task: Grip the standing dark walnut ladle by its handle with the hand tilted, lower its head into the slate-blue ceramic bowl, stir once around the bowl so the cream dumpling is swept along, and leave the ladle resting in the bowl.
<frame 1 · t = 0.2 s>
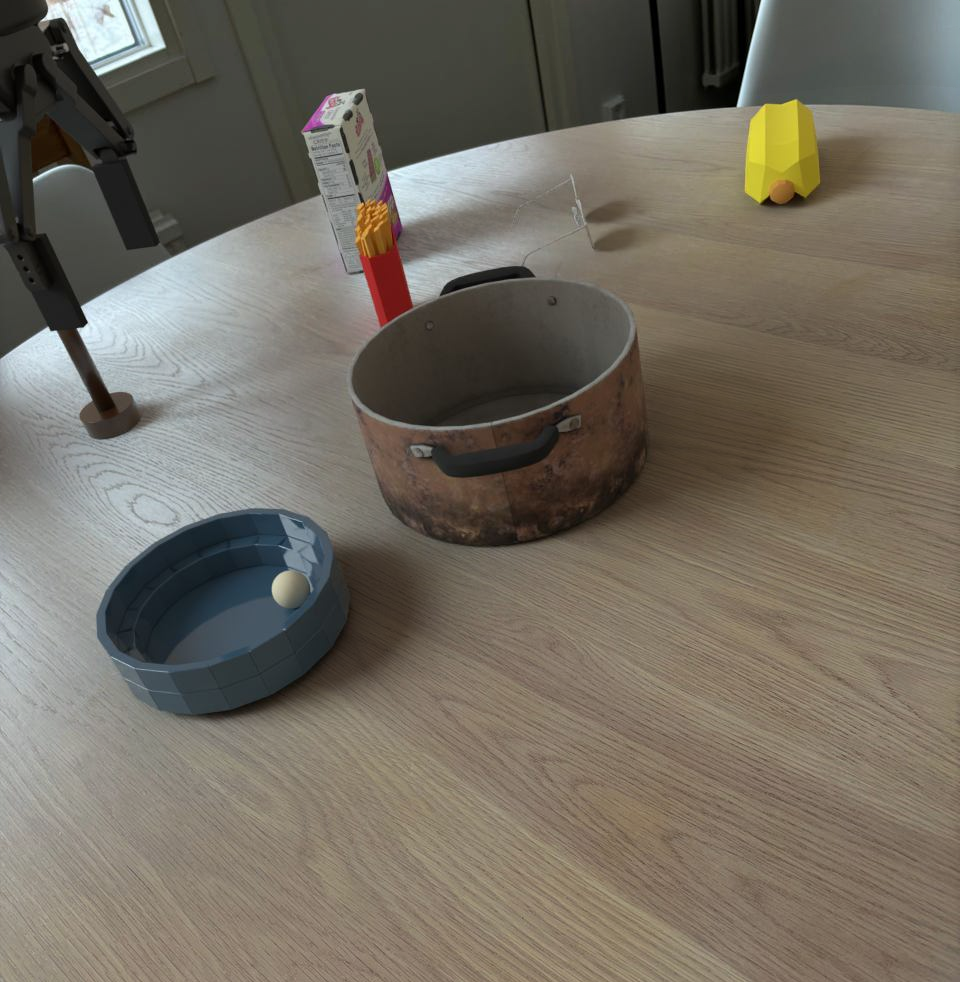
hand: (108, 284, 80), 20 cm above the table, tool pointing down, fingers open, 13 cm apart
cooking pot: (514, 465, 87), on the table
candy bar box: (375, 254, 125), on the table
dumpling: (291, 589, 77), point 2 cm above the table, touching bowl
bowl: (239, 633, 78), on the table
yellow faceted bell: (781, 181, 117), on the table
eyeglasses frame: (552, 242, 117), on the table
ladle: (114, 423, 107), on the table
french fries: (399, 324, 110), on the table
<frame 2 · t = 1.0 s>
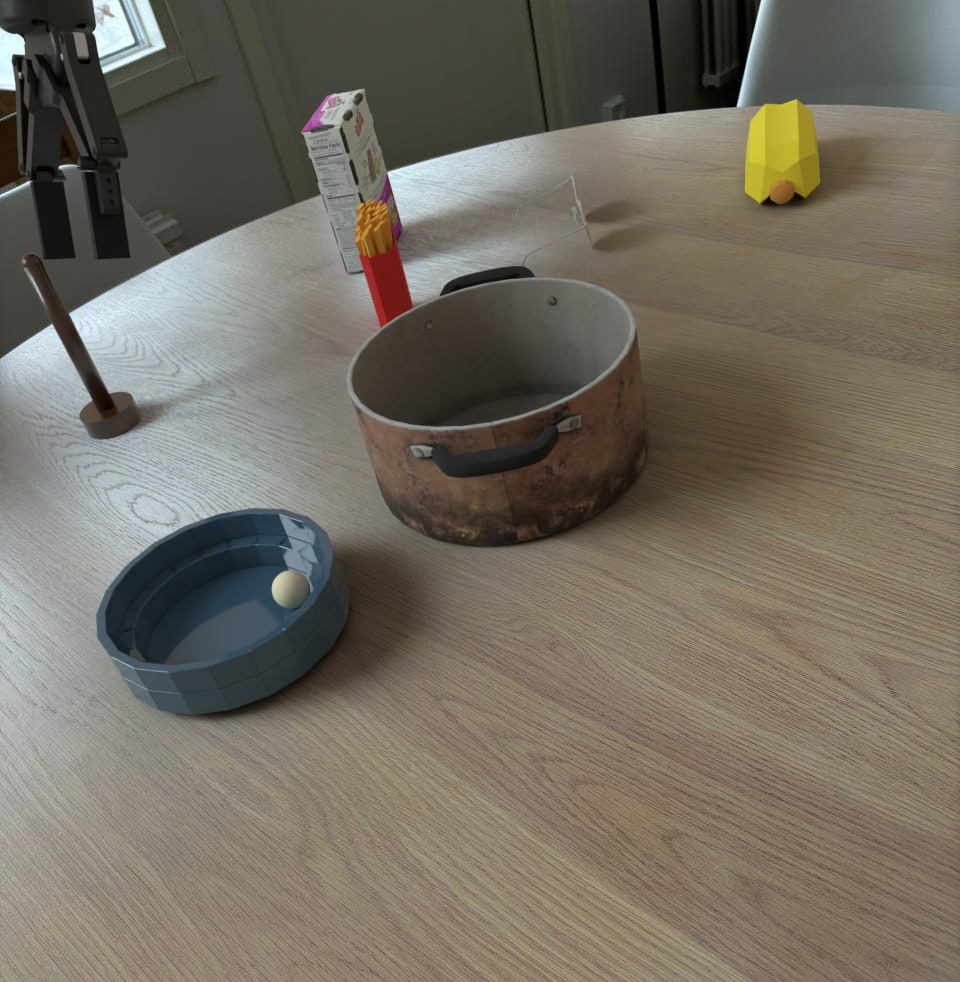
hand: (84, 259, 91), 18 cm above the table, tool tilted 25°, fingers open, 13 cm apart
ladle: (114, 423, 107), on the table, touching gripper
everything else where it was.
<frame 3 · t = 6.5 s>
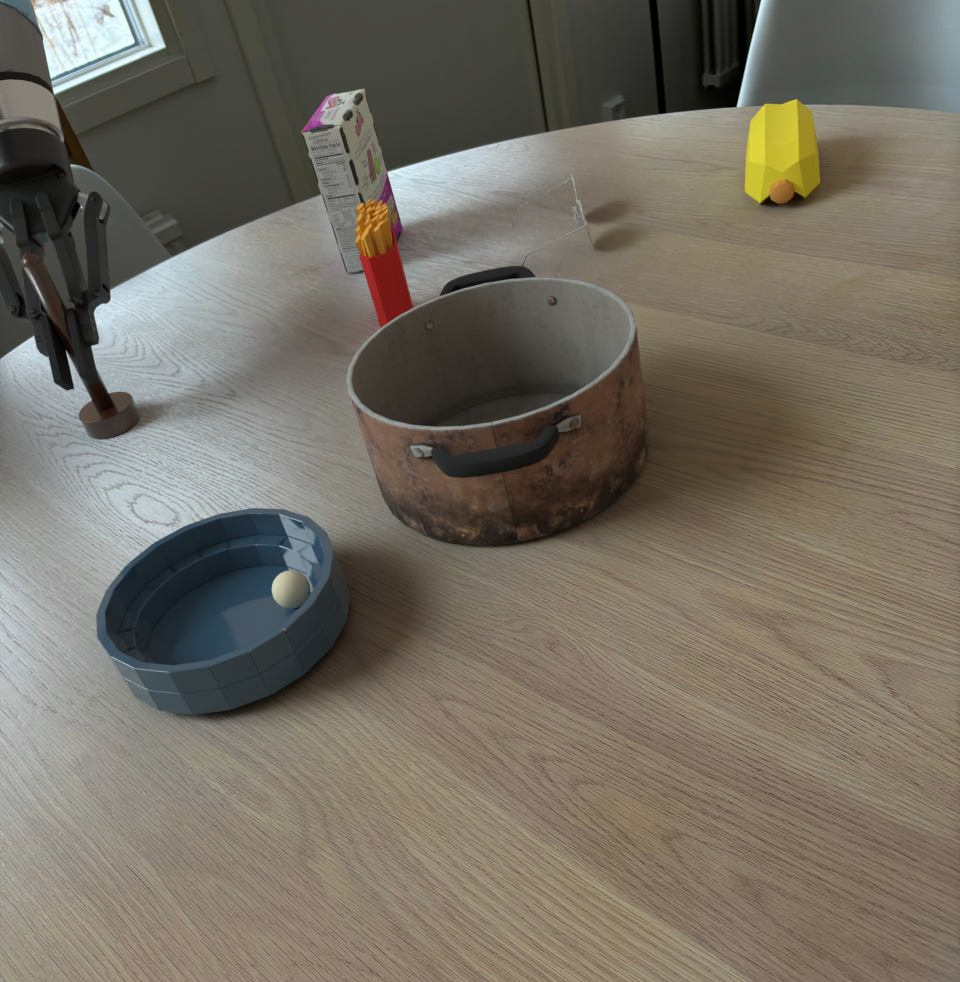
hand: (76, 382, 99), 7 cm above the table, tool tilted 45°, fingers closed on ladle, 2 cm apart
ladle: (113, 423, 107), on the table, touching gripper
everything else where it was.
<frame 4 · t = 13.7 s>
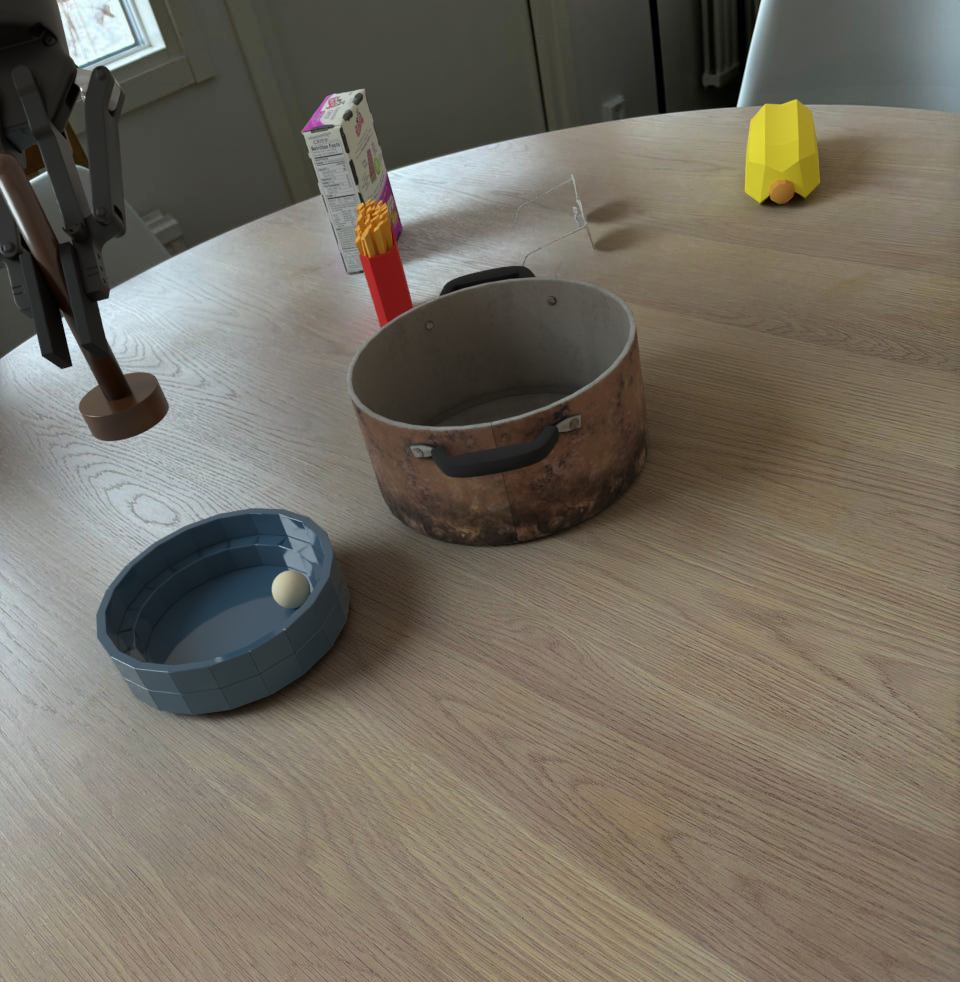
hand: (76, 355, 65), 22 cm above the table, tool tilted 45°, fingers closed on ladle, 2 cm apart
ladle: (130, 418, 73), point 15 cm above the table, touching gripper
everything else where it was.
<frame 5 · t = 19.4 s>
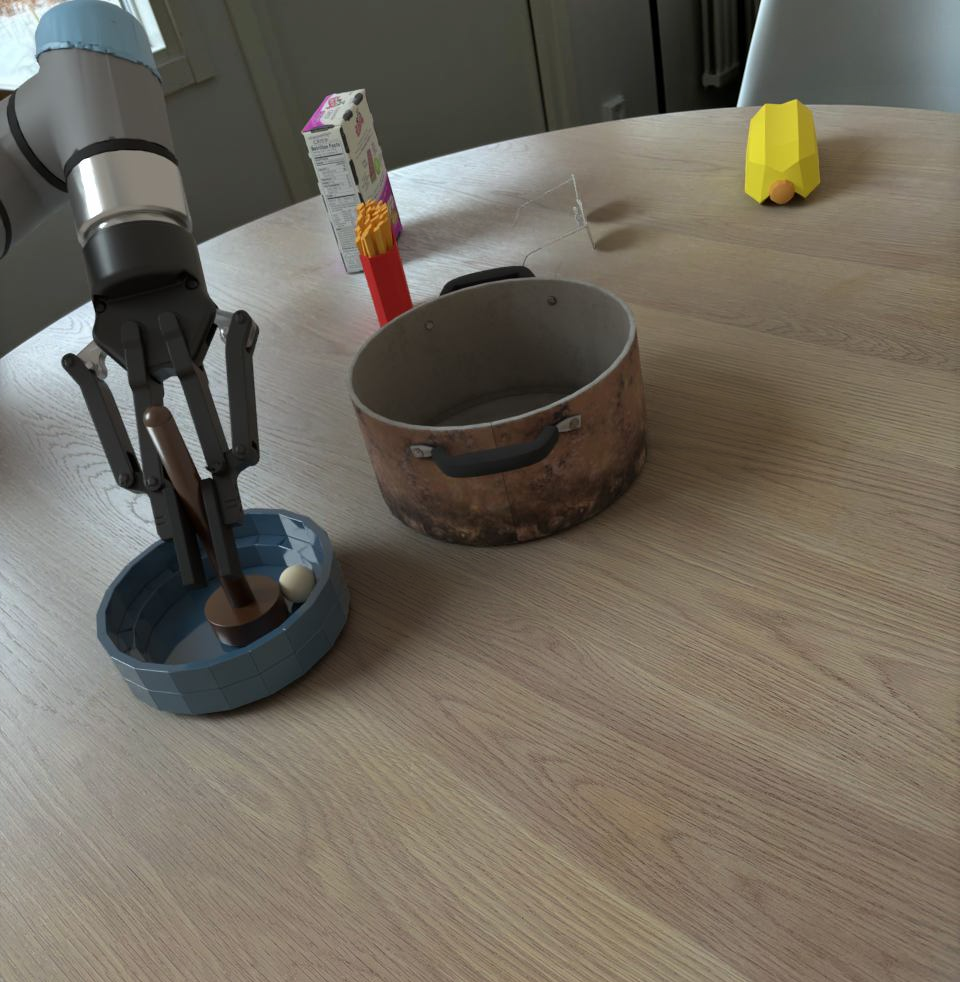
hand: (214, 581, 69), 8 cm above the table, tool tilted 45°, fingers closed on ladle, 2 cm apart
dumpling: (298, 583, 77), point 2 cm above the table, tilted 27°, touching bowl, ladle
ladle: (251, 619, 77), point 1 cm above the table, touching dumpling, gripper
everything else where it was.
when the fingers open (8 cm above the table, at t = 21.2 s): ladle stays where it is, resting on bowl.
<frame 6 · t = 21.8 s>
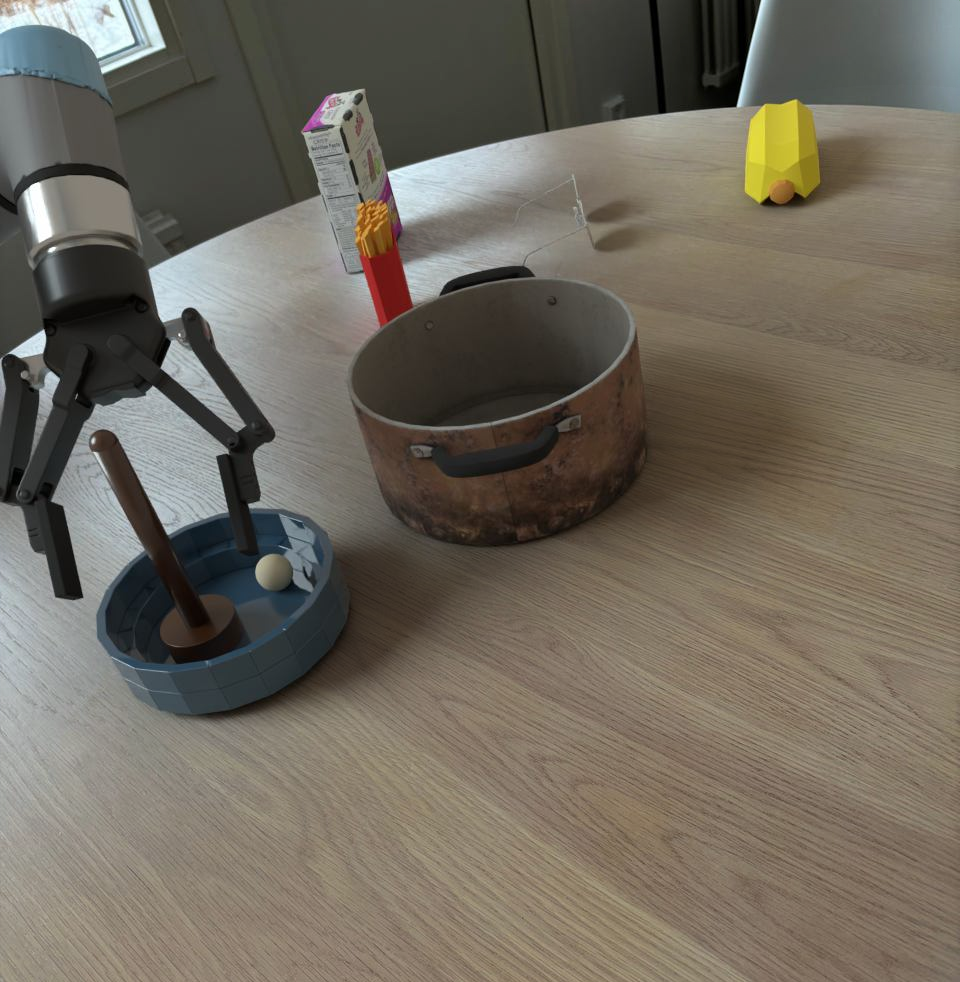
hand: (159, 576, 70), 9 cm above the table, tool tilted 45°, fingers open, 12 cm apart
dumpling: (274, 572, 79), point 2 cm above the table, tilted 106°, touching bowl
ladle: (207, 639, 77), point 1 cm above the table, touching bowl
everything else where it was.
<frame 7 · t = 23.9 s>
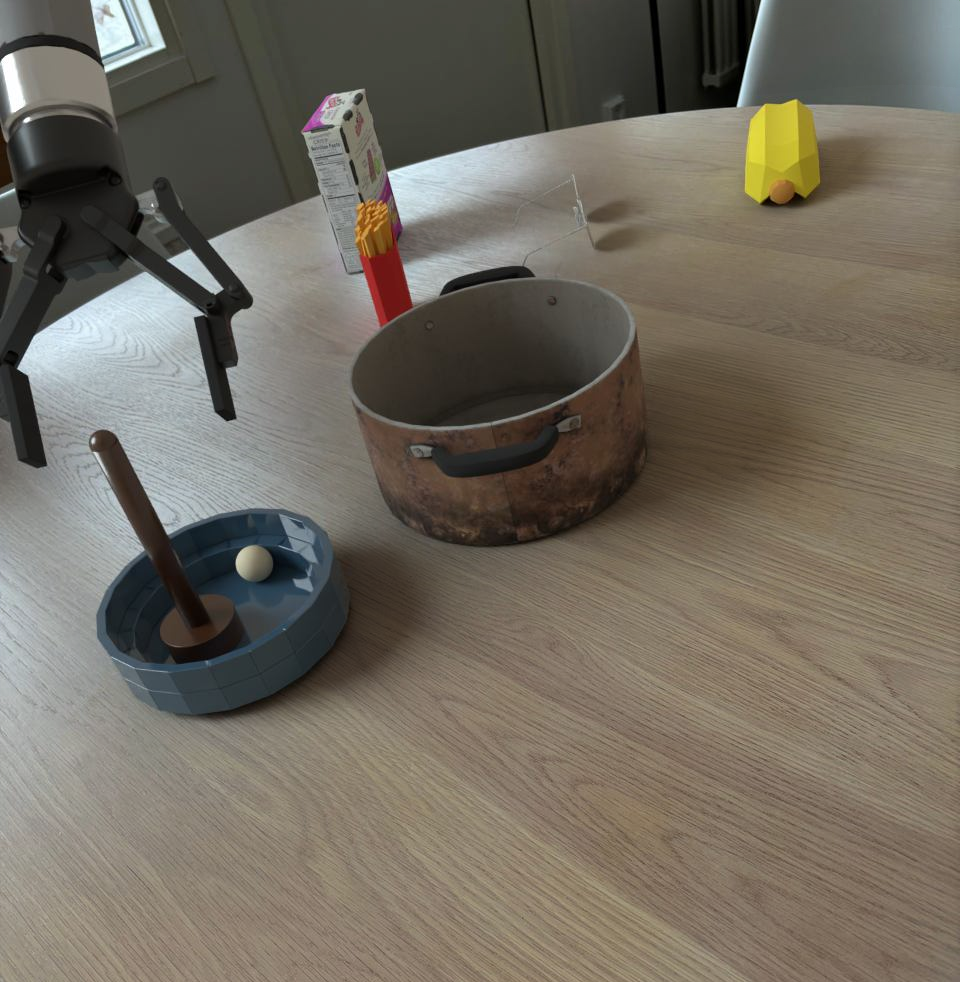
hand: (129, 440, 71), 15 cm above the table, tool tilted 45°, fingers open, 13 cm apart
dumpling: (254, 563, 80), point 2 cm above the table, tilted 144°, touching bowl
everything else where it was.
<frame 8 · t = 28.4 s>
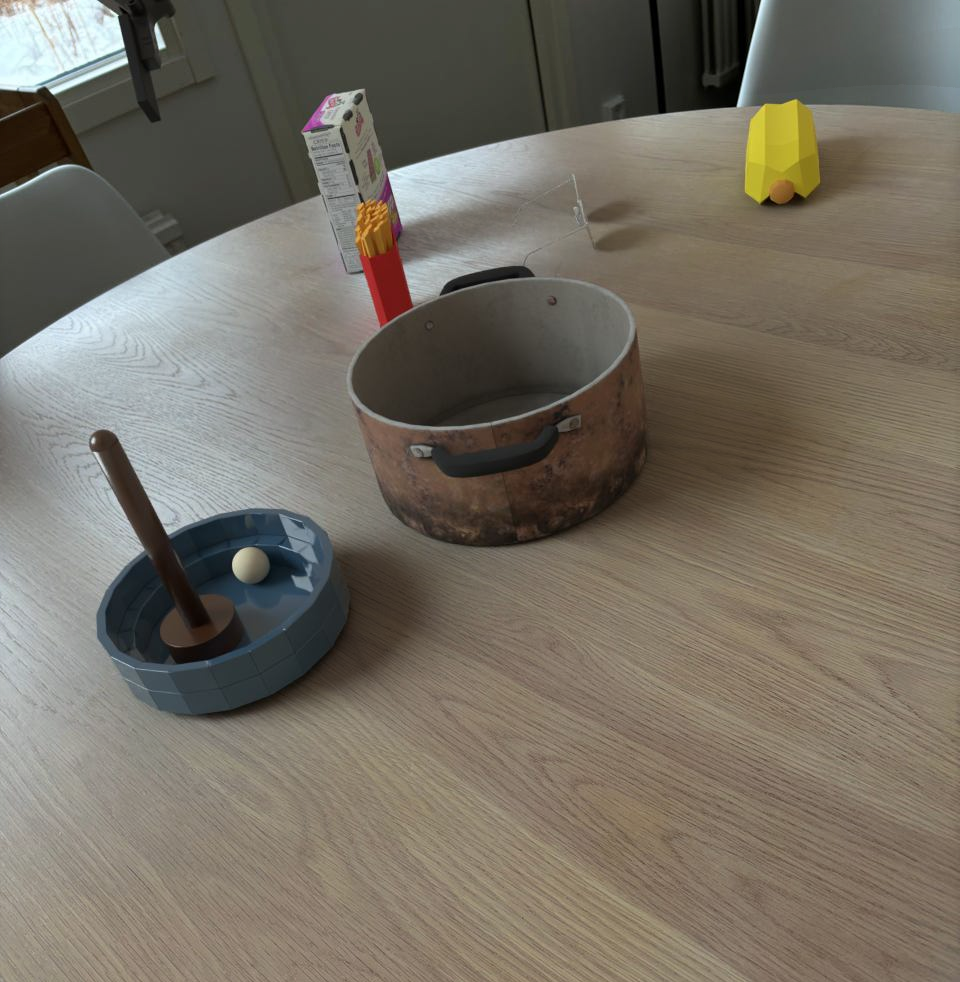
hand: (59, 136, 75), 30 cm above the table, tool tilted 45°, fingers open, 13 cm apart
dumpling: (251, 565, 80), point 2 cm above the table, tilted 133°, touching bowl
everything else where it was.
at the end: dumpling moved 5.3 cm from its start; dumpling inside the target area in the bowl (5.3 cm from its centre), point 2.2 cm above the bowl's base; ladle inside the target area in the bowl (2.2 cm from its centre), point 0.8 cm above the bowl's base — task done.
